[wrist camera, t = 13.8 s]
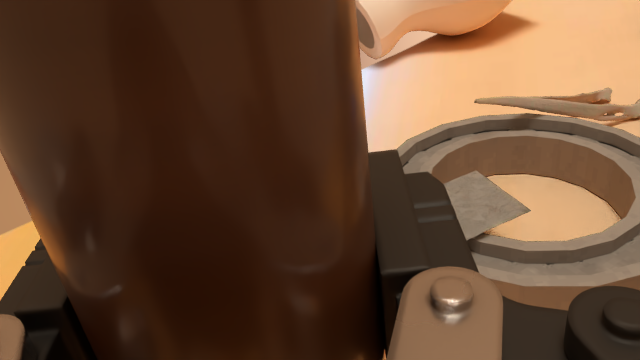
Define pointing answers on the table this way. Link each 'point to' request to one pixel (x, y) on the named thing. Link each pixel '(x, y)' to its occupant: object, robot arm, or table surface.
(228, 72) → the rolling pin
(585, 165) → the mechanical component
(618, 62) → the table surface
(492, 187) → the business card
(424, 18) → the vase
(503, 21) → the table surface
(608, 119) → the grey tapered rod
